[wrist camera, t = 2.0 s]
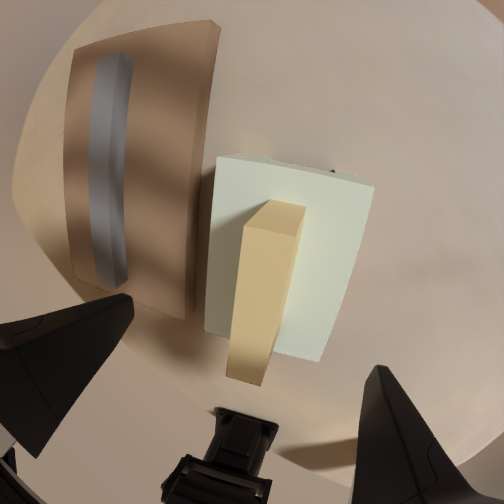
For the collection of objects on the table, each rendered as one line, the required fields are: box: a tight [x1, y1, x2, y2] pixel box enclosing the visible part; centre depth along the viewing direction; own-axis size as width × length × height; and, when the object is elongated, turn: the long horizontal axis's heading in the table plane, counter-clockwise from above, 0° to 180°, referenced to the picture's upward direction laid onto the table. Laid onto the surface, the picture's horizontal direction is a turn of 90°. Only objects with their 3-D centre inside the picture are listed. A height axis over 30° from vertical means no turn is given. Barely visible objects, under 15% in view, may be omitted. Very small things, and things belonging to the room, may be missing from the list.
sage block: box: [204, 152, 375, 386], centre depth 13 cm, size 10×7×8 cm
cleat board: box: [63, 20, 221, 321], centre depth 17 cm, size 20×12×3 cm, turn 172°
